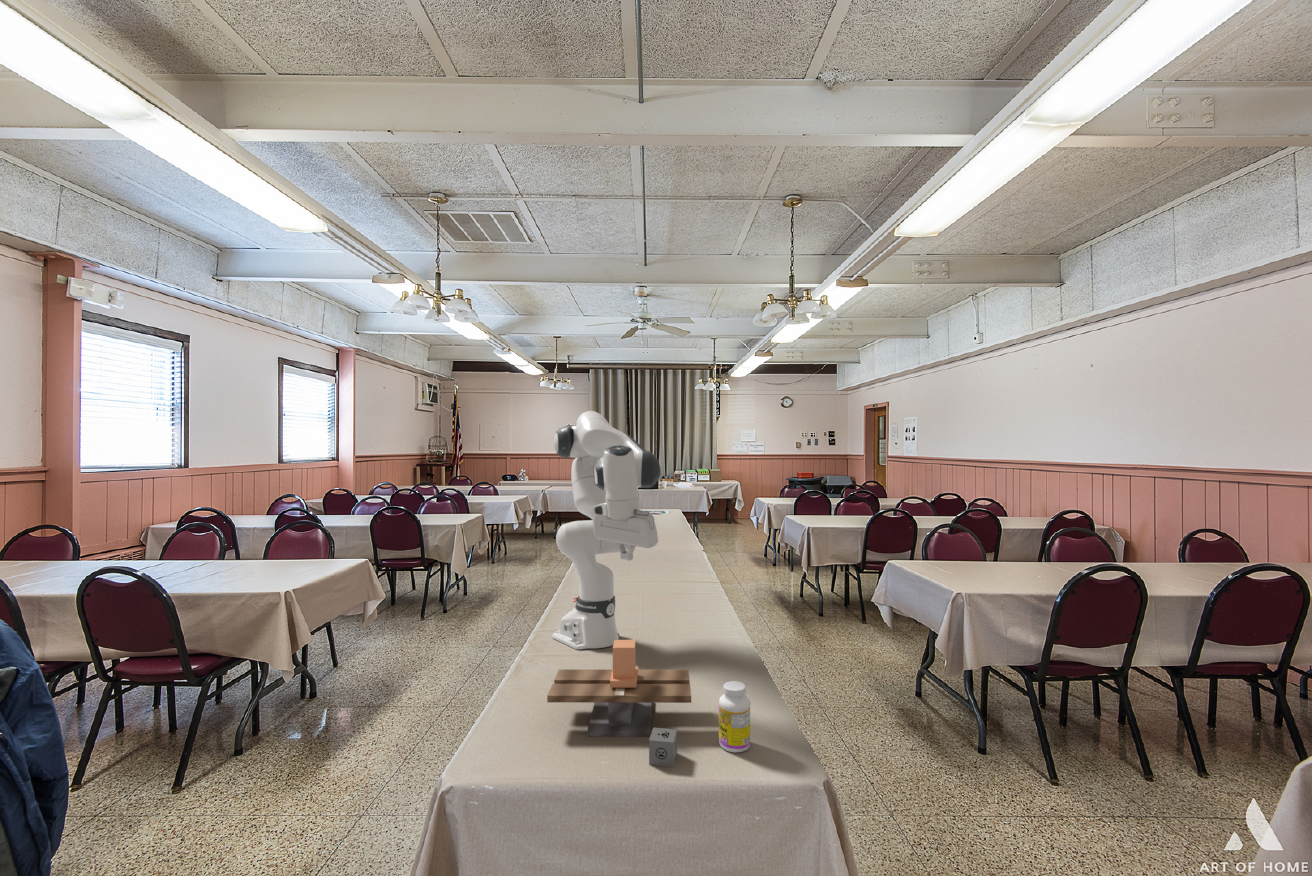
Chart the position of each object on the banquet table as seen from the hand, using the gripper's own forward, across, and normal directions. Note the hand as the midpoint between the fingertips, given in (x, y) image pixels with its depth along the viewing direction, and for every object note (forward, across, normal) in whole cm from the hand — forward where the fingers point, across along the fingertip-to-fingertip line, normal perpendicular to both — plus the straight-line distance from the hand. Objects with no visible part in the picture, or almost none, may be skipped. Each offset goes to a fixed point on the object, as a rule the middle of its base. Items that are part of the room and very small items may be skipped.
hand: (626, 559), depth 149 cm
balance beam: (+31, -11, +18) cm, 38 cm away
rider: (+24, -12, +16) cm, 31 cm away
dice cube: (+31, -29, +24) cm, 49 cm away
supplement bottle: (+32, -38, +10) cm, 51 cm away
